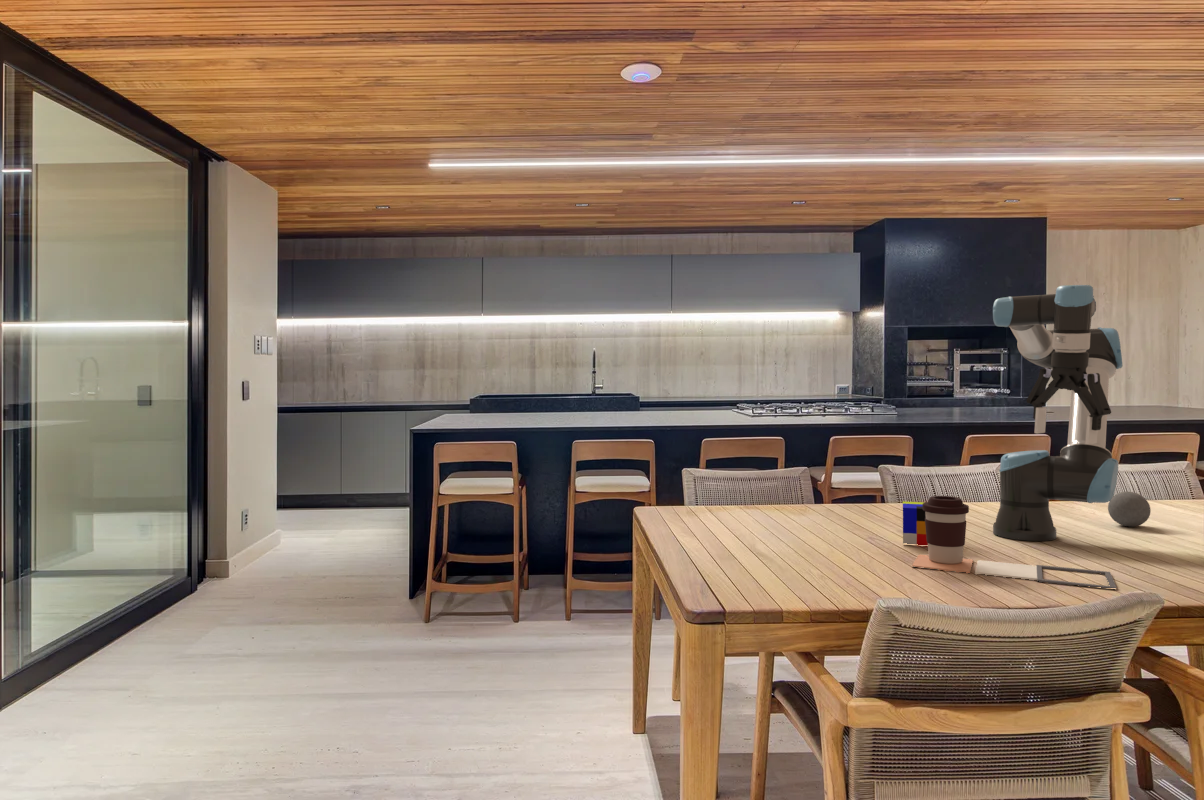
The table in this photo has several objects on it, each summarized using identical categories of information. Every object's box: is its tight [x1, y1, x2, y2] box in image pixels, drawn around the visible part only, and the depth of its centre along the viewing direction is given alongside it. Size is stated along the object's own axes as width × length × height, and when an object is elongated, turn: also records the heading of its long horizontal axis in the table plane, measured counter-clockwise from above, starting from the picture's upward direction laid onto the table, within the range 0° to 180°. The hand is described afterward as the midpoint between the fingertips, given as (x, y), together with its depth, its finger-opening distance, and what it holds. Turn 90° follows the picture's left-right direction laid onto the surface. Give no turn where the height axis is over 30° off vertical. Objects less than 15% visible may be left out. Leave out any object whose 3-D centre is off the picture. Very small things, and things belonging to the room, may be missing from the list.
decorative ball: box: [1107, 491, 1152, 528], centre depth 212 cm, size 10×10×10 cm
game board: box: [912, 554, 1118, 589], centre depth 167 cm, size 39×14×1 cm, turn 60°
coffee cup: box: [923, 495, 970, 564], centre depth 174 cm, size 10×10×15 cm
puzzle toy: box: [902, 501, 928, 545], centre depth 196 cm, size 10×10×10 cm
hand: (1064, 438), depth 179 cm, fingers open, 13 cm apart
